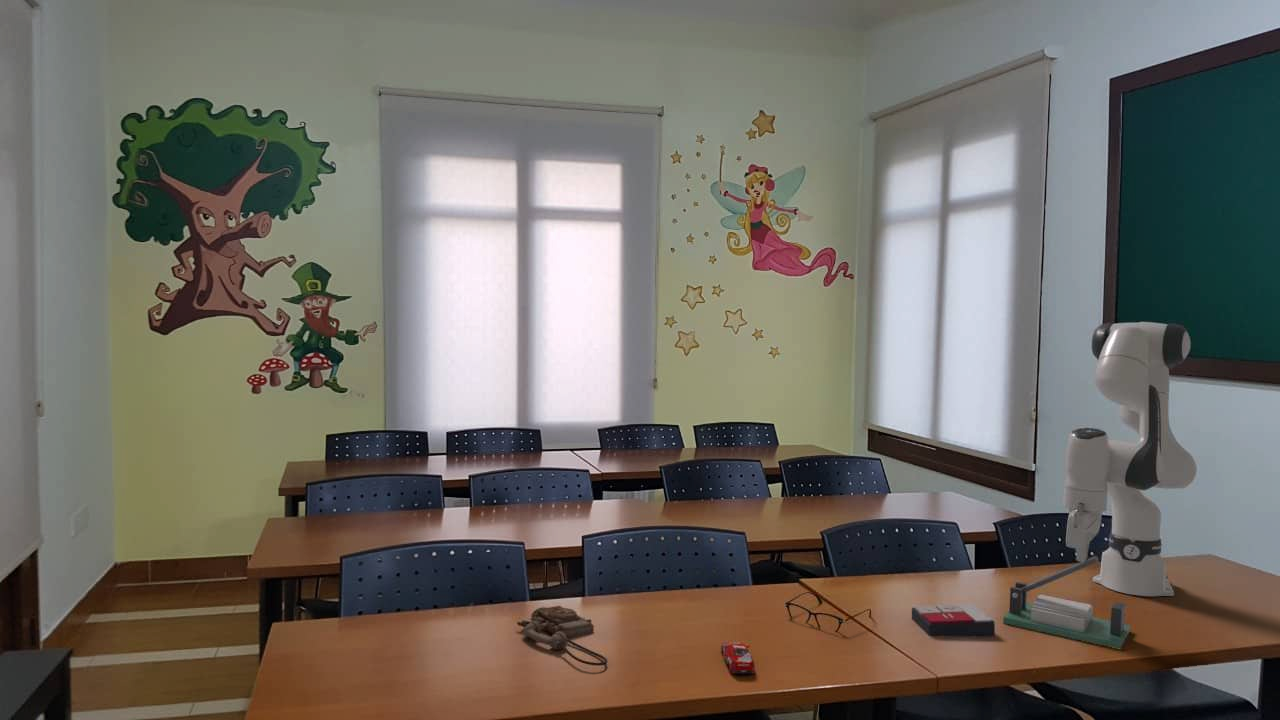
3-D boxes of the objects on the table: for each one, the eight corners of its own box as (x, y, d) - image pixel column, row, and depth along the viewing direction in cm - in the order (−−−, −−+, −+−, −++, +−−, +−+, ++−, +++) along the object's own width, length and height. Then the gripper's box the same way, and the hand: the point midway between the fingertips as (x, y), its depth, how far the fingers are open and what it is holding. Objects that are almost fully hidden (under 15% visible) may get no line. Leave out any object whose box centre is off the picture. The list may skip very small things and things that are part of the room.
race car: (719, 651, 178) (719, 632, 177) (745, 651, 178) (745, 632, 178) (728, 677, 164) (729, 657, 164) (756, 678, 165) (757, 657, 164)
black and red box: (911, 604, 199) (973, 601, 200) (911, 622, 199) (973, 619, 200) (929, 621, 188) (995, 618, 189) (929, 640, 188) (995, 637, 189)
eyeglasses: (780, 617, 198) (781, 600, 198) (816, 601, 210) (816, 586, 210) (843, 637, 187) (844, 619, 187) (877, 619, 199) (878, 602, 199)
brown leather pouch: (581, 676, 163) (582, 654, 163) (499, 624, 189) (500, 605, 189) (643, 662, 172) (644, 641, 172) (556, 614, 198) (557, 596, 198)
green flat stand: (1018, 607, 208) (1019, 577, 208) (1129, 631, 194) (1131, 599, 193) (1003, 623, 197) (1004, 591, 197) (1120, 650, 183) (1122, 615, 182)
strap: (1019, 593, 203) (1017, 589, 203) (1099, 559, 192) (1096, 555, 192) (1016, 596, 200) (1014, 592, 201) (1096, 562, 190) (1094, 558, 190)
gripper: (1092, 510, 182) (1088, 573, 183) (1107, 495, 198) (1104, 553, 199) (1060, 505, 186) (1056, 567, 187) (1077, 491, 202) (1074, 548, 203)
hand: (1081, 560), depth 193 cm, fingers closed, pressing on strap
